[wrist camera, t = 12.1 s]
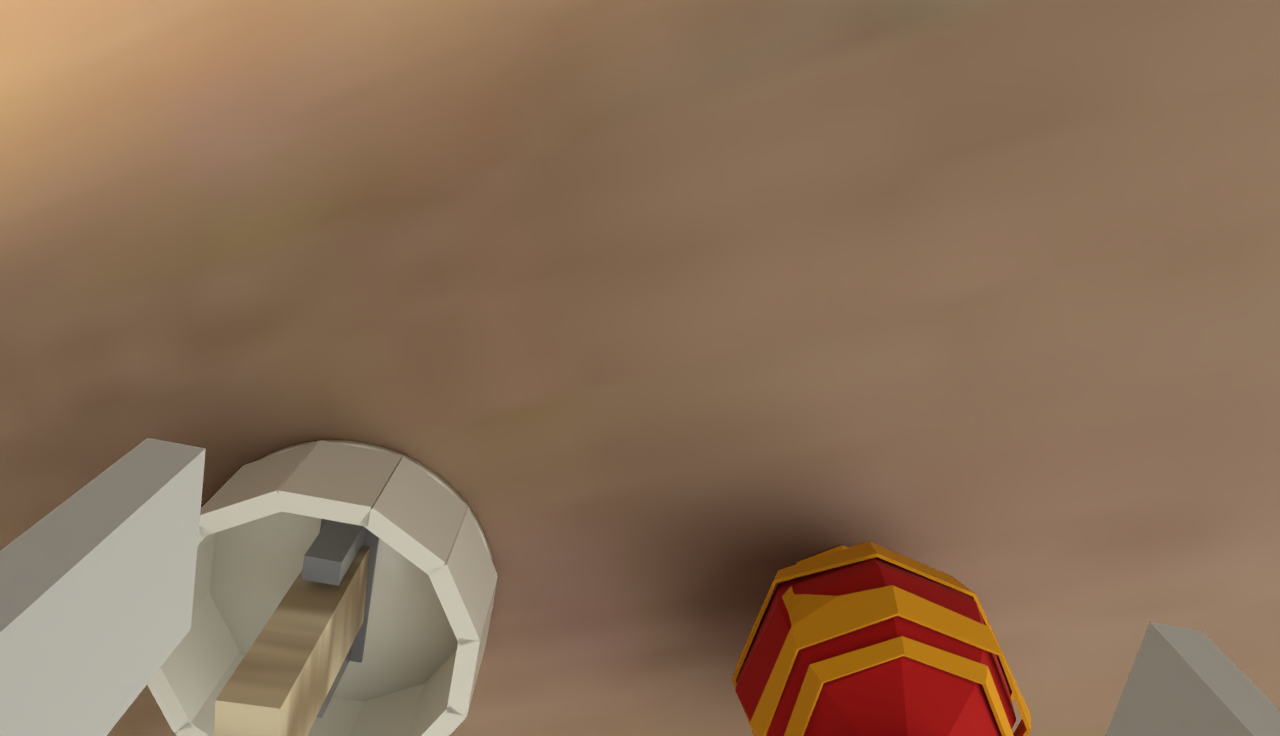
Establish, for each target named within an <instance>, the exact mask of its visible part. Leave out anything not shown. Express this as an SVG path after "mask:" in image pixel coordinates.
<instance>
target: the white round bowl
mask: <svg viewBox="0 0 1280 736" xmlns="http://www.w3.org/2000/svg"><path fill="white" fill-rule="evenodd" d="M361 546H366V547H370V552H369V564H368V576H367V587H366V599H365V610H364V621H363V623H362V625H361V627H360V629H359V631H358V633H357V635H356V637H355V639H354V642H353V644H352V646H351V648H350V650H349V652H348V654H347V656H346V658H345V660H344V662H343V664H342V666H341V668H340V670H339V672H338V674H337V676H336V678H335V680H334V682H333V684H332V686H331V688H330V690H329V692H328V694H327V696H326V698H325V700H324V702H323V704H322V706H321V708H320V710H319V713H318V715H317V717H316V719H315V721H314V723H313V725H312V727H311V729H310V731H309V733H308V735H307V736H449V735H450V734H451V733H452V732H453V731H454V730H455V729H456V728H457V727H458V726H459V725H460V724H461V723H462V722H463V720H464V719H465V718H466V717H467V714H468V710H469V707H470V703H471V699H472V695H473V691H474V688H475V684H476V680H477V676H478V672H479V669H480V665H481V661H482V657H483V653H484V650H485V646H486V641H487V635H488V630H489V624H490V618H491V613H492V609H493V605H494V596H495V590H496V584H497V579H498V577H497V576H498V575H497V572H496V570H495V568H494V563H493V558H492V553H491V550H490V547H489V544H488V541H487V538H486V535H485V533H484V531H483V529H482V527H481V525H480V523H479V521H478V519H477V517H476V516H475V514H474V513H473V511H472V510H471V509H470V507H469V506H468V504H467V503H466V502H465V500H464V499H463V498H462V497H461V496H460V495H459V494H458V493H457V491H456V490H455V489H454V488H453V487H452V486H451V485H449V484H448V483H447V482H446V481H445V480H444V479H443V478H441V477H440V476H439V475H438V474H436V473H435V472H433V471H432V470H431V469H429V468H428V467H426V466H425V465H423V464H422V463H420V462H418V461H416V460H414V459H412V458H410V457H408V456H406V455H404V454H402V453H399V452H396V451H394V450H391V449H388V448H386V447H382V446H378V445H374V444H370V443H366V442H358V441H350V440H320V441H319V440H318V441H313V442H305V443H301V444H297V445H293V446H289V447H286V448H283V449H281V450H278V451H276V452H273V453H271V454H268V455H267V456H265V457H263V458H261V459H260V460H257V461H254V462H251V463H248V464H245V465H243V466H242V467H241V468H240V469H239V470H238V471H237V472H236V473H235V474H234V475H233V476H232V477H231V478H230V479H229V480H228V481H227V482H226V483H225V484H224V485H223V486H222V487H221V488H220V489H219V490H218V491H217V493H216V494H215V495H214V496H213V497H212V498H211V499H210V500H209V501H208V502H207V503H206V504H205V505H204V506H203V507H202V508H201V511H200V524H199V536H198V548H197V560H196V572H195V584H194V596H193V608H192V620H191V629H190V630H189V632H188V633H187V634H186V636H185V637H184V638H183V639H182V641H181V642H180V643H179V644H178V646H177V647H176V648H175V649H174V651H173V652H172V653H171V655H170V656H169V657H168V658H167V660H166V661H165V662H164V663H163V665H162V666H161V667H160V668H159V670H158V671H157V672H156V674H155V675H154V676H153V677H152V679H151V680H150V681H149V682H148V684H147V685H148V687H149V689H150V691H151V692H152V694H153V696H154V698H155V700H156V701H157V703H158V705H159V707H160V709H161V710H162V712H163V714H164V716H165V718H166V720H167V721H168V723H169V725H170V727H171V729H172V730H173V732H174V733H175V732H176V735H177V736H214V721H215V700H216V698H217V697H218V695H219V694H220V692H221V691H222V689H223V688H224V686H225V685H226V683H227V682H228V680H229V679H230V677H231V676H232V674H233V673H234V671H235V670H236V668H237V667H238V665H239V664H240V662H241V661H242V659H243V658H244V656H245V655H246V653H247V652H248V650H249V649H250V647H251V646H252V644H253V643H254V641H255V640H256V638H257V637H258V635H259V634H260V632H261V631H262V629H263V628H264V626H265V625H266V623H267V622H268V620H269V619H270V617H271V616H272V614H273V613H274V611H275V610H276V608H277V607H278V605H279V604H280V602H281V601H282V599H283V598H284V596H285V595H286V593H287V592H288V590H289V589H290V587H291V586H292V584H293V583H294V581H295V580H296V578H297V577H298V575H299V573H300V572H301V570H302V578H301V579H302V580H308V581H313V582H319V583H325V584H330V585H336V586H339V584H340V583H341V581H342V579H343V577H344V576H345V574H346V572H347V571H348V569H349V567H350V565H351V564H352V562H353V560H354V558H355V557H356V555H357V553H358V551H359V550H360V548H361Z"/></svg>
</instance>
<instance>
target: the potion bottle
mask: <svg viewBox="0 0 1280 736" xmlns="http://www.w3.org/2000/svg"><path fill="white" fill-rule="evenodd" d="M785 580H788V581H786V582H783V583H781V584H778V586H777V588H776V590H775V592H774V594H773V596H772V598H771V600H770V597H771V595H772V592H773V590H774V588H775V585H776V583H778V582H782V581H785ZM769 600H770V602H769ZM768 602H769V604H768ZM767 604H768V606H767ZM766 607H767V608H766ZM765 609H766V610H765ZM732 681H733V684H734V686H735V689H736V690H735V691H736V693H737V695H738V697H739V699H740V701H741V704H742V706H743V709H744V711H745V714H746V716H747V719H748V722H749V725H750V727H751V729H752V732H753V734H754V736H1028V734H1029V733H1030V732H1031V720H1030V711H1029V709H1028V707H1027V705H1026V703H1025V701H1024V699H1023V697H1022V695H1021V693H1020V691H1019V688H1018V686H1017V683H1016V681H1015V679H1014V677H1013V675H1012V672H1011V670H1010V668H1009V666H1008V664H1007V661H1006V659H1005V657H1004V655H1003V653H1002V650H1001V648H1000V646H999V644H998V642H997V639H996V637H995V635H994V633H993V631H992V628H991V626H990V624H989V622H988V620H987V618H986V615H985V613H984V611H983V609H982V607H981V604H980V602H979V600H978V598H977V596H976V594H975V593H974V592H972V591H971V590H970V589H968V588H967V587H966V586H964V585H963V584H962V583H960V582H959V581H958V580H956V579H955V578H954V577H952V576H950V575H948V574H946V573H943V572H941V571H938V570H936V569H934V568H931V567H929V566H927V565H924V564H922V563H919V562H917V561H915V560H912V559H910V558H908V557H905V556H903V555H900V554H898V553H896V552H893V551H891V550H889V549H886V548H884V547H881V546H879V545H877V544H874V543H872V542H870V541H868V542H865V543H862V544H859V545H856V546H852V547H846V546H843V545H841V546H838V547H836V548H833V549H830V550H828V551H825V552H823V553H820V554H817V555H815V556H812V557H809V558H807V559H804V560H801V561H799V562H797V563H796V565H793V566H790V567H787V568H784V569H781V570H778V571H777V574H776V576H775V578H774V580H773V583H772V585H771V587H770V589H769V592H768V594H767V596H766V598H765V601H764V603H763V605H762V607H761V610H760V612H759V614H758V617H757V619H756V621H755V623H754V626H753V628H752V630H751V632H750V635H749V637H748V639H747V641H746V644H745V646H744V648H743V650H742V653H741V655H740V657H739V659H738V663H737V666H736V669H735V673H734V676H733V679H732ZM1013 698H1015V700H1016V703H1017V705H1018V708H1019V711H1020V713H1021V716H1022V720H1021V722H1020V724H1019V725H1018V727H1017V729H1016V730H1015V732H1014V734H1013V733H1012V730H1011V729H1012V727H1013V725H1014V723H1015V721H1016V717H1015V713H1014V709H1013V705H1012V701H1013Z"/></svg>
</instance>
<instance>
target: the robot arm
mask: <svg viewBox="0 0 1280 736" xmlns="http://www.w3.org/2000/svg"><path fill="white" fill-rule="evenodd" d="M205 451H206V448H200V447H195V446H189V445H184V444H179V443H173V442H168V441H162V440H157V439H151V438H146V439H145V440H144V441H143V442H141V443H140V444H139V445H137V446H136V447H135V448H133V449H132V450H131V451H129V452H128V453H127V454H126V455H124V456H123V457H122V458H120V459H119V460H118V461H116V462H115V463H114V464H113V465H111V466H110V467H109V468H107V469H106V470H105V471H103V472H102V473H101V474H100V475H98V476H97V477H96V478H94V479H93V480H92V481H90V482H89V483H88V484H87V485H85V486H84V487H83V488H81V489H80V490H79V491H77V492H76V493H75V494H73V495H72V496H71V497H70V498H68V499H67V500H66V501H64V502H63V503H62V504H60V505H59V506H58V507H57V508H55V509H54V510H53V511H51V512H50V513H49V514H47V515H46V516H45V517H44V518H42V519H41V520H40V521H38V522H37V523H36V524H34V525H33V526H32V527H31V528H29V529H28V530H27V531H25V532H24V533H23V534H21V535H20V536H19V537H17V538H16V539H15V540H14V541H12V542H11V543H10V544H8V545H7V546H6V547H4V548H3V549H2V550H1V551H0V736H107V734H108V733H109V732H110V731H111V729H112V728H113V727H114V725H115V724H116V723H117V722H118V720H119V719H120V718H121V717H122V715H123V714H124V713H125V712H126V710H127V709H128V708H129V706H130V705H131V704H132V703H133V701H134V700H135V699H136V698H137V696H138V695H139V694H140V693H141V691H142V690H143V689H144V687H145V686H146V685H147V684H148V682H149V681H150V680H151V679H152V677H153V676H154V675H155V674H156V672H157V671H158V670H159V668H160V667H161V666H162V665H163V663H164V662H165V661H166V660H167V658H168V657H169V656H170V655H171V653H172V652H173V651H174V649H175V648H176V647H177V646H178V644H179V643H180V642H181V641H182V639H183V638H184V637H185V636H186V634H187V633H188V632H189V630H190V629H191V620H192V608H193V596H194V584H195V572H196V560H197V548H198V536H199V524H200V511H201V499H202V487H203V475H204V463H205ZM1106 736H1280V710H1279V709H1278V708H1277V707H1276V706H1275V705H1274V704H1273V703H1272V702H1271V701H1270V700H1269V699H1268V698H1267V697H1266V696H1265V695H1264V694H1263V693H1262V692H1261V691H1260V690H1259V689H1258V688H1257V687H1256V685H1255V684H1254V683H1253V682H1252V681H1251V680H1250V679H1249V678H1248V677H1247V676H1246V675H1245V674H1244V673H1243V672H1242V671H1241V670H1240V669H1239V668H1238V667H1237V666H1236V665H1235V664H1234V663H1233V662H1232V661H1231V660H1230V659H1229V658H1228V657H1227V656H1226V655H1225V654H1224V653H1223V652H1222V651H1221V650H1220V649H1219V648H1218V647H1217V646H1216V645H1215V644H1214V643H1213V642H1212V641H1211V640H1210V639H1209V638H1208V637H1207V636H1206V635H1205V634H1204V633H1203V632H1202V631H1198V630H1193V629H1187V628H1182V627H1176V626H1171V625H1165V624H1160V623H1155V622H1150V623H1149V626H1148V629H1147V631H1146V634H1145V636H1144V639H1143V641H1142V644H1141V646H1140V649H1139V651H1138V654H1137V657H1136V659H1135V662H1134V664H1133V667H1132V669H1131V672H1130V674H1129V677H1128V680H1127V682H1126V685H1125V687H1124V690H1123V692H1122V695H1121V697H1120V700H1119V703H1118V705H1117V708H1116V710H1115V713H1114V715H1113V718H1112V720H1111V723H1110V725H1109V728H1108V731H1107V733H1106Z"/></svg>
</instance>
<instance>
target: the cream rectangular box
mask: <svg viewBox="0 0 1280 736" xmlns="http://www.w3.org/2000/svg"><path fill="white" fill-rule="evenodd" d="M369 552H370V547H366V546H361V548H360V550H359V551H358V553H357V555H356V557H355V558H354V560H353V562H352V564H351V565H350V567H349V569H348V571H347V572H346V574H345V576H344V577H343V579H342V581H341V583H340V584H339V586H336V585H330V584H325V583H319V582H313V581H308V580H302V579H301V578H302V570H301V572H300V573H299V575H298V577H297V578H296V580H295V581H294V583H293V584H292V586H291V587H290V589H289V590H288V592H287V593H286V595H285V596H284V598H283V599H282V601H281V602H280V604H279V605H278V607H277V608H276V610H275V611H274V613H273V614H272V616H271V617H270V619H269V620H268V622H267V623H266V625H265V626H264V628H263V629H262V631H261V632H260V634H259V635H258V637H257V638H256V640H255V641H254V643H253V644H252V646H251V647H250V649H249V650H248V652H247V653H246V655H245V656H244V658H243V659H242V661H241V662H240V664H239V665H238V667H237V668H236V670H235V671H234V673H233V674H232V676H231V677H230V679H229V680H228V682H227V683H226V685H225V686H224V688H223V689H222V691H221V692H220V694H219V695H218V697H217V698H216V700H215V721H214V736H307V735H308V733H309V731H310V729H311V727H312V725H313V723H314V721H315V719H316V717H317V715H318V713H319V710H320V708H321V706H322V704H323V702H324V700H325V698H326V696H327V694H328V692H329V690H330V688H331V686H332V684H333V682H334V680H335V678H336V676H337V674H338V672H339V670H340V668H341V666H342V664H343V662H344V660H345V658H346V656H347V654H348V652H349V650H350V648H351V646H352V644H353V642H354V639H355V637H356V635H357V633H358V631H359V629H360V627H361V625H362V623H363V621H364V610H365V599H366V587H367V576H368V564H369Z"/></svg>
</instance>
